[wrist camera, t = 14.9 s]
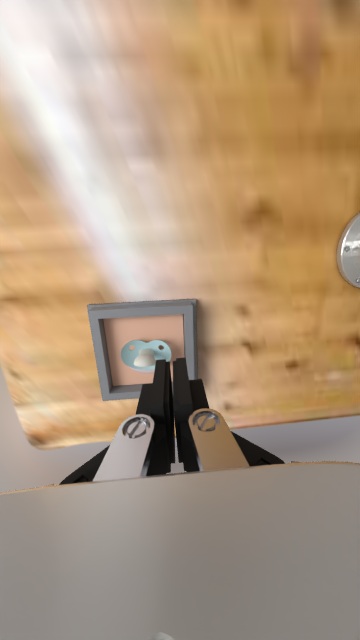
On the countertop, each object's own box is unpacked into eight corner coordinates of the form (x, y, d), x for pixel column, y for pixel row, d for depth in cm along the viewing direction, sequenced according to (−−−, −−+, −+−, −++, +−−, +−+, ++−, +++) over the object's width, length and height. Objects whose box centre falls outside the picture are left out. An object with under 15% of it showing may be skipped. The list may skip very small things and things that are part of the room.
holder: (195, 298, 33) (198, 302, 30) (196, 383, 37) (199, 394, 34) (89, 304, 32) (81, 309, 29) (103, 390, 36) (97, 403, 33)
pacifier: (170, 370, 34) (170, 336, 33) (172, 395, 29) (172, 355, 27) (125, 371, 34) (122, 336, 32) (117, 396, 28) (113, 356, 26)
